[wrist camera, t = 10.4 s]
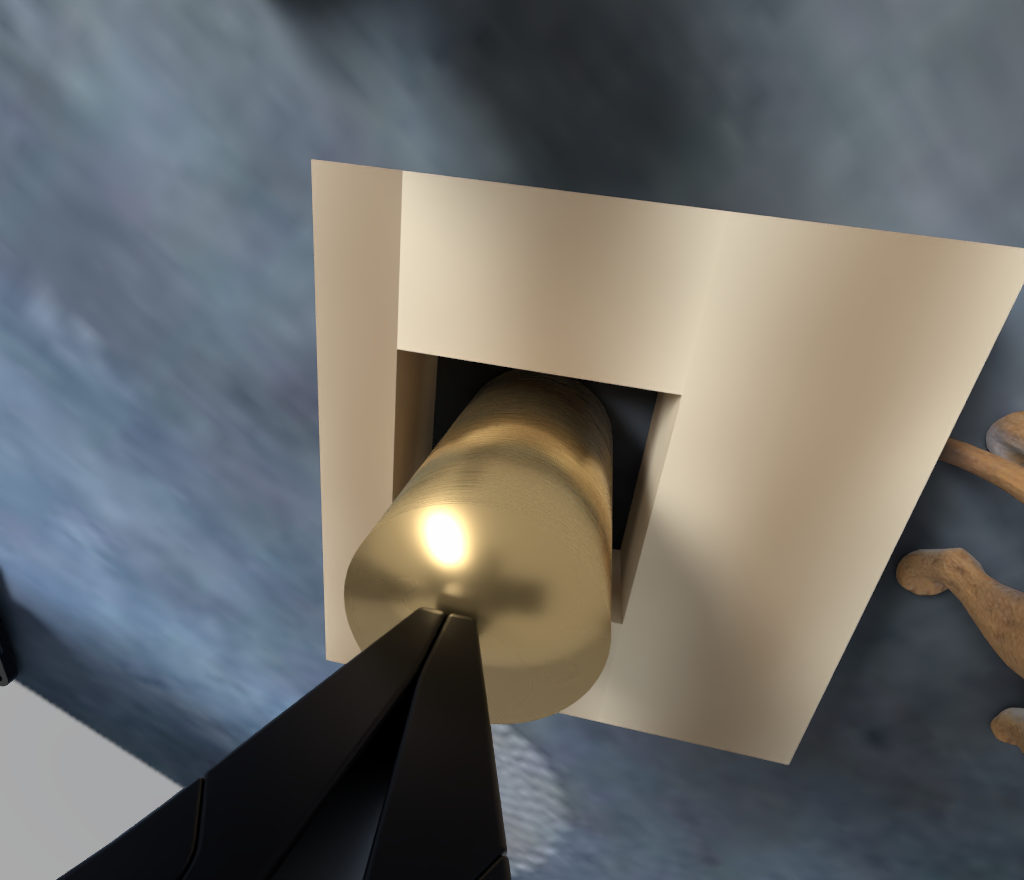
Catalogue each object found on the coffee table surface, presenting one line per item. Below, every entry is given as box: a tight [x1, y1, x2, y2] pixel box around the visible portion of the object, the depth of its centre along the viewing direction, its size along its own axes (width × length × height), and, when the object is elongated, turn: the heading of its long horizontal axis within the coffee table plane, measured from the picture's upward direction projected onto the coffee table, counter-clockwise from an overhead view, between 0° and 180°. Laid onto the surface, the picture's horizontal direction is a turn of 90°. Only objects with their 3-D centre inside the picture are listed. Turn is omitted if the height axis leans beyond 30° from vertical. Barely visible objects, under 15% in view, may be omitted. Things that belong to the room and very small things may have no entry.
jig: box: [311, 159, 1024, 765], centre depth 13 cm, size 12×12×3 cm
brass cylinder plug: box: [344, 369, 613, 724], centre depth 11 cm, size 4×4×7 cm
